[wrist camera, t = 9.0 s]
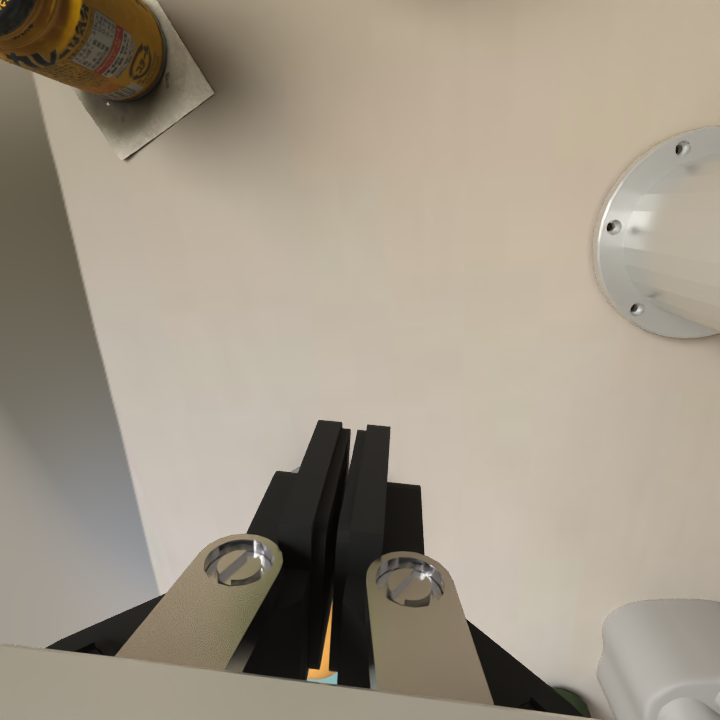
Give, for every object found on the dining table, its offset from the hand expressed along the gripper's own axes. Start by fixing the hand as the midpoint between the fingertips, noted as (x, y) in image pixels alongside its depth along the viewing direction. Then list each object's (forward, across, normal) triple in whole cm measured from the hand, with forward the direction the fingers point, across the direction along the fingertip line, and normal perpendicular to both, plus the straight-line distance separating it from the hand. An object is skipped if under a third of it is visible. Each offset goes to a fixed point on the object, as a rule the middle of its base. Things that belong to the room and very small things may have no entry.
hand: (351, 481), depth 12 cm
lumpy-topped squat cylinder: (+24, -26, +27) cm, 45 cm away
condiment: (+23, +17, -13) cm, 31 cm away
